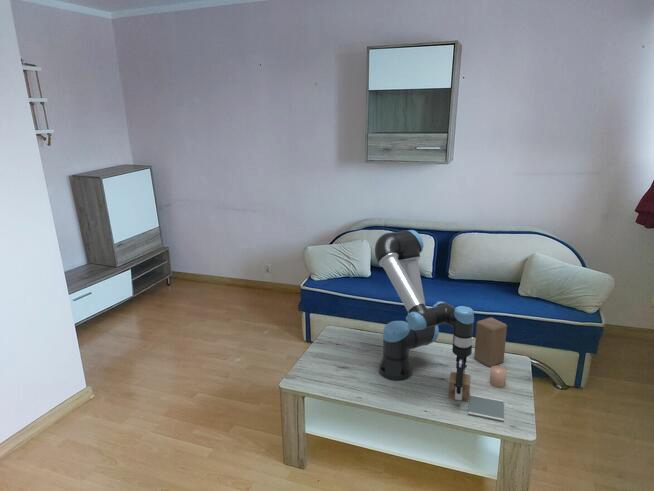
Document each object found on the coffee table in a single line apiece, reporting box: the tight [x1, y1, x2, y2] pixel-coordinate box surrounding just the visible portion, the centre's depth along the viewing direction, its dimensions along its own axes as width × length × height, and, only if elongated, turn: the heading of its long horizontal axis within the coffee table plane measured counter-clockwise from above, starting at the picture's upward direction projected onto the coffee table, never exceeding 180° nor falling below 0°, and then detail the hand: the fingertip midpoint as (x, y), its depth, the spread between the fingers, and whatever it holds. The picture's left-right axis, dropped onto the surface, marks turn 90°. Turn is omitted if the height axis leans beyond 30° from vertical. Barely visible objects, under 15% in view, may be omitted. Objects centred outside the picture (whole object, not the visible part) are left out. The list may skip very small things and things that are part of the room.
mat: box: [467, 393, 505, 423], centre depth 174 cm, size 13×13×1 cm
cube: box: [447, 371, 472, 403], centre depth 182 cm, size 8×8×8 cm
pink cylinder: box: [489, 365, 507, 389], centre depth 190 cm, size 6×6×7 cm
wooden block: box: [473, 317, 508, 368], centre depth 206 cm, size 10×10×20 cm
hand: (459, 390), depth 182 cm, fingers open, 13 cm apart
